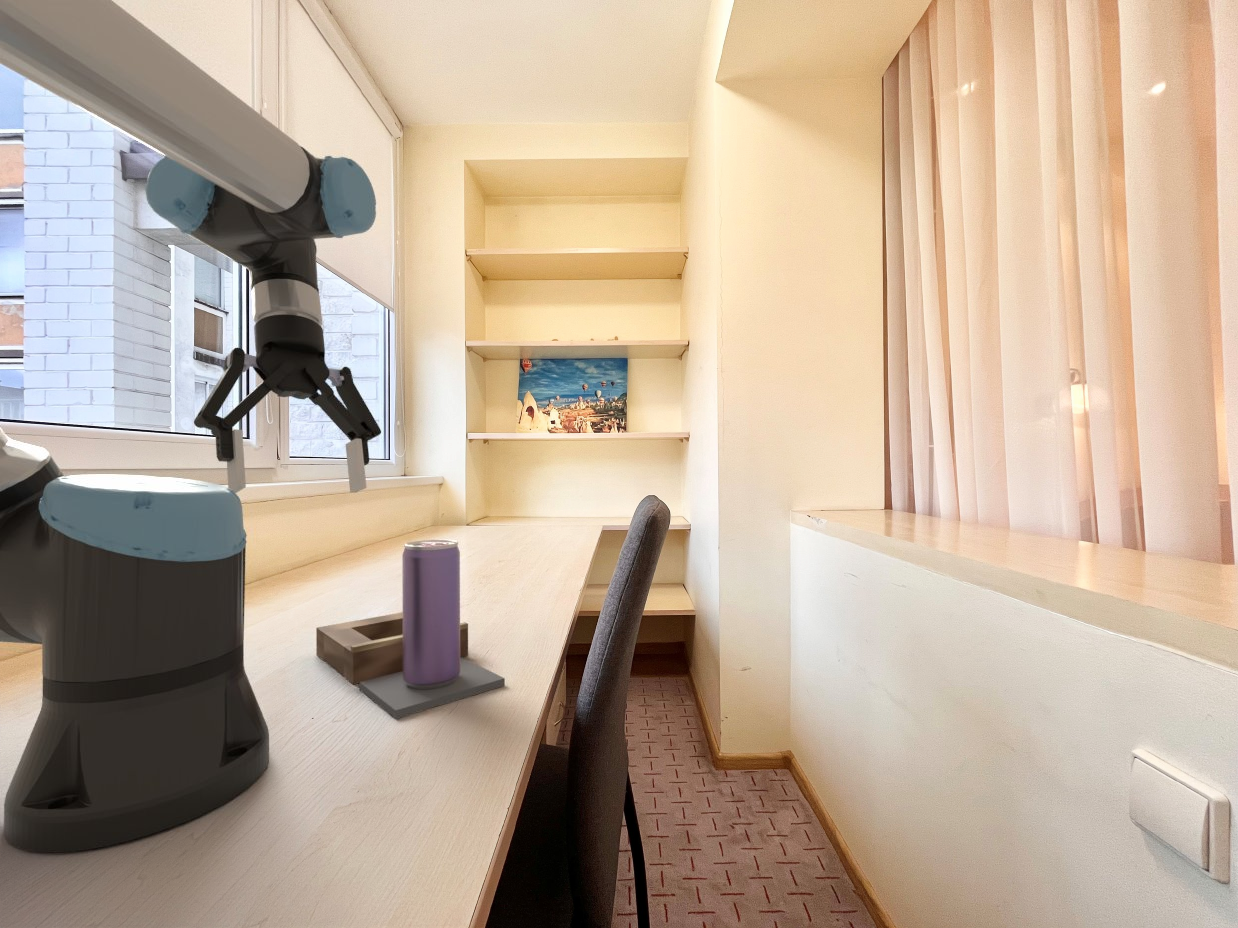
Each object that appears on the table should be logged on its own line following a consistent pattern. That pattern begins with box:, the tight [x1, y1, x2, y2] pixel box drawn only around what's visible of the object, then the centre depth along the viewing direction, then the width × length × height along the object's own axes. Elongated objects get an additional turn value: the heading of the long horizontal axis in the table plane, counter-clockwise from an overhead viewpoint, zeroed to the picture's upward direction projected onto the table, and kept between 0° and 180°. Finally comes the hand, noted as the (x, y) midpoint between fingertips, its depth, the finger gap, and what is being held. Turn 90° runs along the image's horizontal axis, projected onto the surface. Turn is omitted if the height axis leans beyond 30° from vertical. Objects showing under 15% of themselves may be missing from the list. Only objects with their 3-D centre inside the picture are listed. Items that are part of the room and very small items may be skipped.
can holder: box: [315, 611, 469, 685], centre depth 73 cm, size 14×14×4 cm
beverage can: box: [401, 539, 461, 689], centre depth 62 cm, size 6×6×15 cm
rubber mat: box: [358, 657, 506, 719], centre depth 62 cm, size 12×10×1 cm
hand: (302, 490), depth 67 cm, fingers open, 13 cm apart
